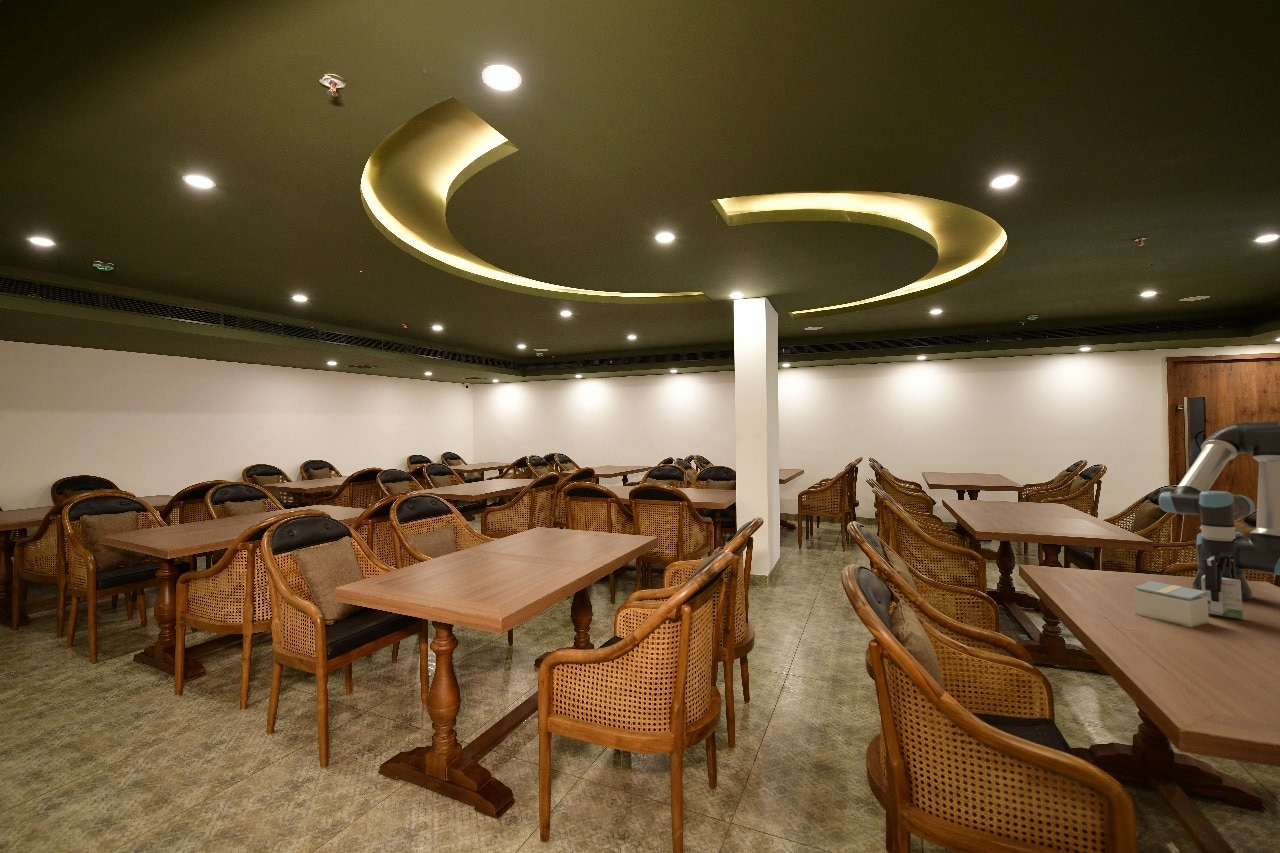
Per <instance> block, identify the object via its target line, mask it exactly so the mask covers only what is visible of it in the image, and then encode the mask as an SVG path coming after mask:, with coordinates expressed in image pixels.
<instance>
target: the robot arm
mask: <svg viewBox="0 0 1280 853" xmlns="http://www.w3.org/2000/svg"><path fill="white" fill-rule="evenodd" d="M1200 450H1201V451H1200V453H1199V454H1198V456H1197V458H1196V459H1195V461H1194V462H1193V463H1192V465H1191V466H1190V468H1189V469H1188V470H1187V472H1186V473H1185V475H1184V476H1183V478H1181V480H1180V482H1179V484H1178V485H1177V486H1176V487H1175V489H1174V490H1173V491H1163V492H1161V493H1160V494H1159V497H1158V505H1159V507H1160V509H1161V510H1162V511H1164V512H1167V513H1173V514H1182V515H1193V516H1195V515H1197V516H1199V517H1200V526H1199V529H1200V530H1201V532H1199V533H1198V534H1197V535H1196V543H1195V546H1196V557H1197V573H1196V574H1195V577H1194V579H1193V582H1192V585H1191V586H1192V588H1191V589H1196V590H1202V583H1201V577H1202V576H1203V575H1205V589H1206V590H1210V601H1211V610H1212V611H1217V612H1222V613H1223V612H1224V607H1223V592H1220V591H1221V582H1222V577H1223V578H1231V579H1239V580H1240V581H1241V594H1242V601H1245V600H1246V601H1247V600H1248V601H1249V600H1253V599H1254V595H1253V590H1252V588H1251V587H1250V585H1249V583H1248V580H1247V579H1246V576H1245V570H1246V571H1252V572H1259V573H1265V574H1271V575H1276V576H1280V420H1271V421H1251V422H1250V421H1249V422H1247V421H1241V422H1236V423H1235V422H1234V423H1231V424H1229V425H1225V426H1223V427H1221V428H1219V429H1218V430H1215V432H1213V433H1210V435H1209V436H1208V437H1206V439H1205V440H1204V441H1203V443H1201V445H1200ZM1240 454H1252V458H1253V460H1255V461H1257V462H1258V476H1257V480H1258V481H1257V498H1256V499H1257V500H1256V501H1257V503H1256V506H1255V503H1254V501H1253V500H1252V499H1251V498H1249V497H1247V496H1245V495H1242V494H1232V493H1231V492H1230V491H1222V490H1210V489H1211V488H1212V486H1213V485H1214V483H1215V481H1216V480H1218V477H1219V476H1220V474H1221V472H1223V470H1224V468H1225V466H1226V465H1227V464H1228V463H1229V461H1230V460H1233V459H1235V458H1236V457H1237V456H1238V455H1240ZM1255 508H1256V527H1255V528H1254V529H1253V530H1251V531H1249V535H1248V537H1244V535H1243V533H1242V532H1239V531H1238V532H1237V531H1236V527H1235V526H1236V525H1235V523H1236V522H1235V519H1242V518H1245V517H1248V516H1250V515H1252V514H1253V513H1254V512H1255Z"/></svg>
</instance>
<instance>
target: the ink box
mask: <svg viewBox="0 0 1280 853" xmlns="http://www.w3.org/2000/svg"><path fill="white" fill-rule="evenodd" d="M1201 583H1202V591H1207V594H1204V595H1202V596H1203V597H1207V601H1208V614H1212V615H1217V616H1223V617H1228V618H1229V617H1230V618H1234V619H1235V618H1236V619H1243V617H1244V614H1243V613H1244V612H1243V600H1242V594H1241V581H1240V580H1239V579H1231V578H1223V577H1222V582H1221V591H1220V592H1223V607H1224V612H1223V613H1222V612H1217V611H1212V610H1211V601H1210V590H1206V589H1205V575H1203V576H1202V577H1201Z"/></svg>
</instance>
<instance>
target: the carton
mask: <svg viewBox="0 0 1280 853" xmlns="http://www.w3.org/2000/svg"><path fill="white" fill-rule="evenodd" d="M1133 591H1134V592H1133V593H1134V612H1135V614H1134V615H1137V616H1142V617H1146V618H1152V619H1155V620H1158V621H1164V622H1168V623H1172V624H1176V625H1180V626H1185V627H1190V628H1194V627H1199V626H1202V625H1205V624H1208V623H1209V622H1210V621H1209V613H1208V601H1207V597H1203V596H1199V597H1197V598H1194V599H1192V600H1186V599H1181V598H1176V597H1171V596H1166V595H1161V594H1156V593H1152V592H1147V591H1142V590H1137V589H1133Z"/></svg>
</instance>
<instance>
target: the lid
mask: <svg viewBox="0 0 1280 853" xmlns="http://www.w3.org/2000/svg"><path fill="white" fill-rule="evenodd" d="M1136 589H1137V590H1142V591H1147V592H1152V593H1156V594H1161V595H1166V596H1171V597H1176V598H1181V599H1186V600H1192V599H1194V598H1197V597H1199V596H1202V595H1204V594H1207V591H1202V590H1196V589H1192V588H1191V587H1190V588H1189V587H1185V586H1181V585H1175V584H1169V583H1163V582H1158V581H1153V580H1150V581H1147V582H1145V583H1142V584H1139V585H1135V586H1134V587H1133V590H1136Z"/></svg>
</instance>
